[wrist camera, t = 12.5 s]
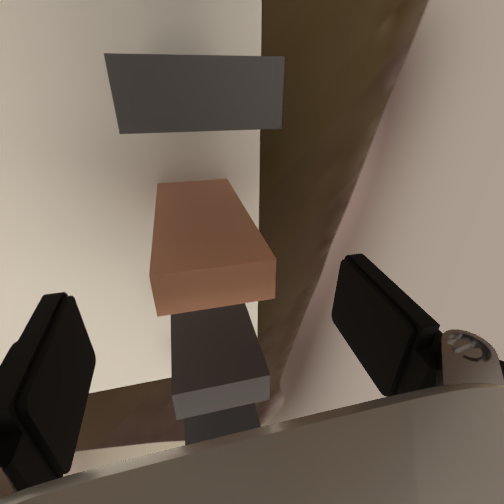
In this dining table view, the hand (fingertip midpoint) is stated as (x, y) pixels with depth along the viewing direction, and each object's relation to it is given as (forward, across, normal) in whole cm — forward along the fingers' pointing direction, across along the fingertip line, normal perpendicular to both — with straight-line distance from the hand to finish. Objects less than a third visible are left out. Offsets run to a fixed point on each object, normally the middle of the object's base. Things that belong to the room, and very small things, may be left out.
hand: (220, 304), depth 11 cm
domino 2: (+14, 0, -6) cm, 15 cm away
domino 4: (+13, 0, +8) cm, 15 cm away
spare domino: (+14, 0, +1) cm, 14 cm away
